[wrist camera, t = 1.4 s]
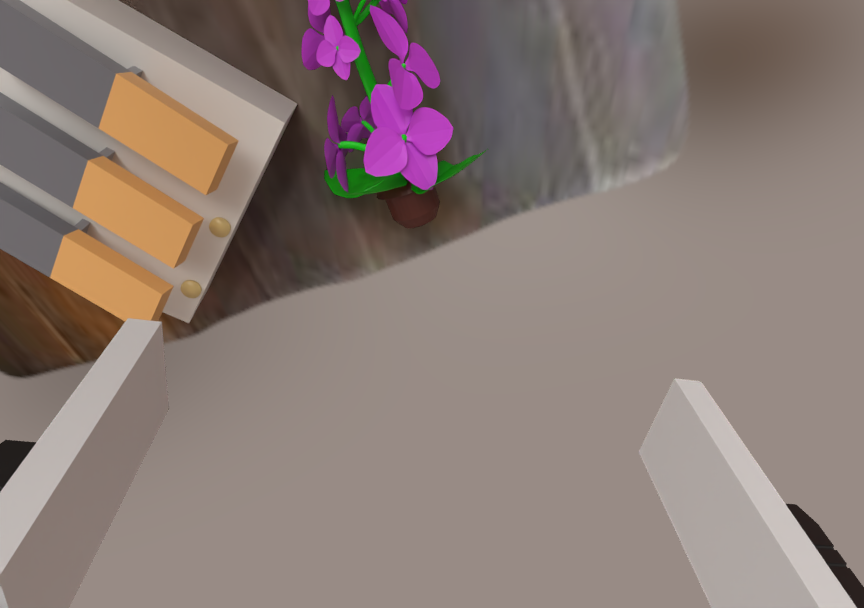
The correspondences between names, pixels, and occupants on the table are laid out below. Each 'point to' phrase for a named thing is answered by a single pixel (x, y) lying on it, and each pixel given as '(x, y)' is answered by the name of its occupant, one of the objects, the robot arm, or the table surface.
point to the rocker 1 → (112, 97)
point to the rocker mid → (95, 185)
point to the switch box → (189, 85)
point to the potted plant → (382, 113)
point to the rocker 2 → (79, 260)
